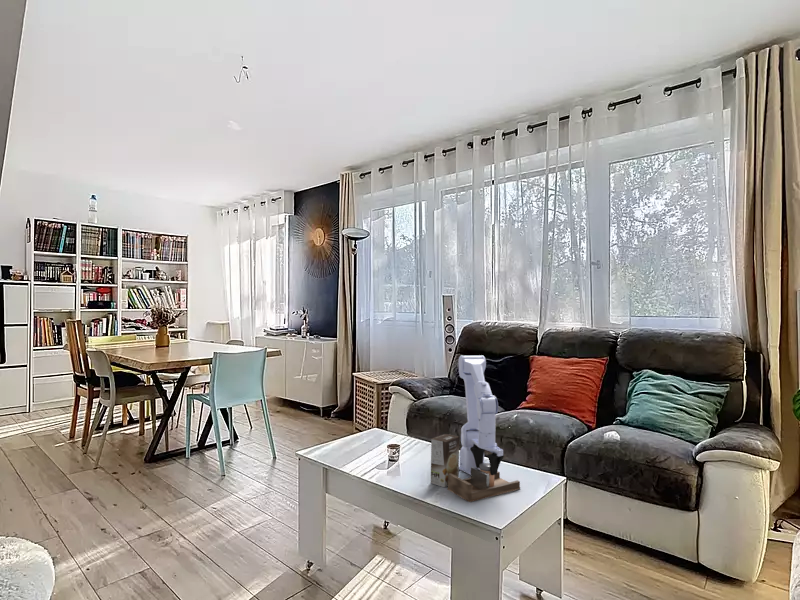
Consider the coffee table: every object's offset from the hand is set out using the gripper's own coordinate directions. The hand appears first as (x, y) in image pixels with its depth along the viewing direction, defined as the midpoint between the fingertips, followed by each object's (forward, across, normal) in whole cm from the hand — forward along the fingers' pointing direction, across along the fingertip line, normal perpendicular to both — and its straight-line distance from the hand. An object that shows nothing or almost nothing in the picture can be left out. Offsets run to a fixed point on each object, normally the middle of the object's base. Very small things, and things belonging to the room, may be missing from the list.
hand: (486, 470), depth 170 cm
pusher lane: (+6, 0, +1) cm, 6 cm away
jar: (+6, 0, 0) cm, 6 cm away
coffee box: (+6, +12, +9) cm, 16 cm away
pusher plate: (+6, 0, +3) cm, 7 cm away
